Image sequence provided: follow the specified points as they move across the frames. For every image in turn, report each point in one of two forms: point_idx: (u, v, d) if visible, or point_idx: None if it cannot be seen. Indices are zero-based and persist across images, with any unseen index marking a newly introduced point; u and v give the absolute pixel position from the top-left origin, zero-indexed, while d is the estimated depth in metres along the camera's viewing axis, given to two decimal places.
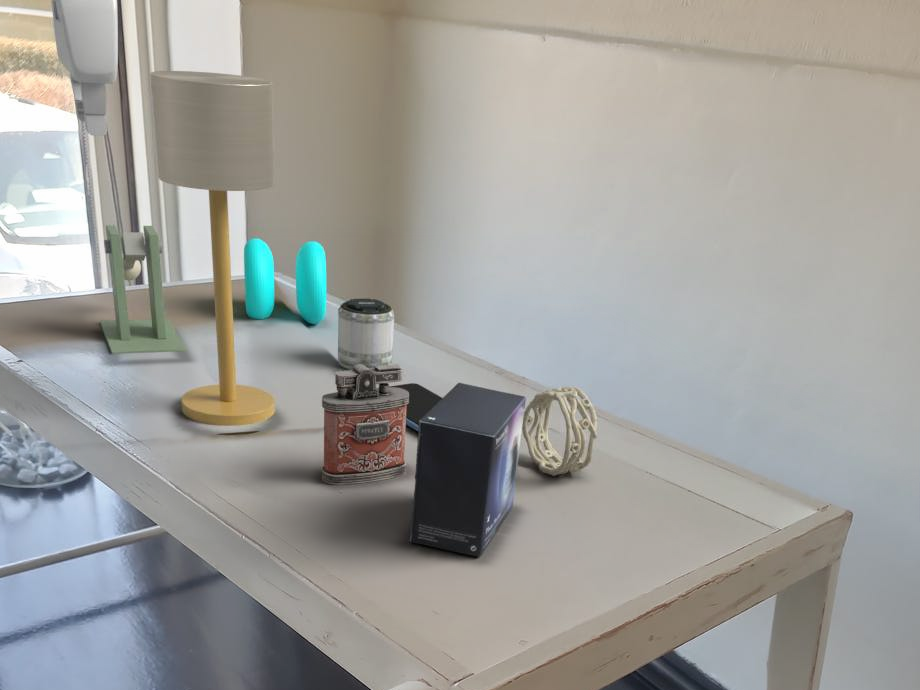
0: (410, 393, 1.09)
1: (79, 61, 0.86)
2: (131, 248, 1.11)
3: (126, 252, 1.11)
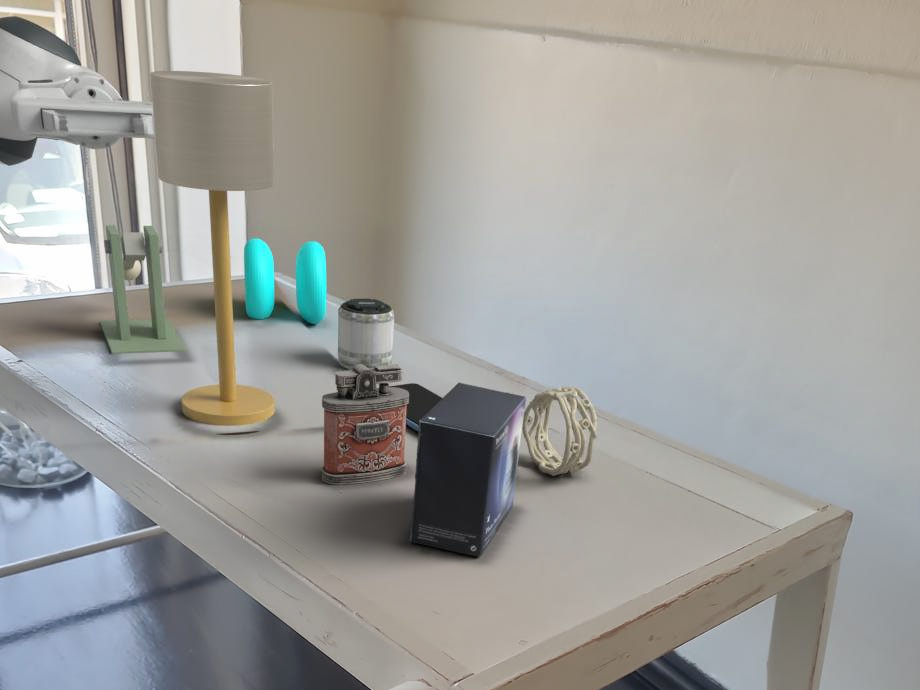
0: (410, 393, 1.09)
1: (13, 126, 1.26)
2: (131, 248, 1.11)
3: (126, 252, 1.11)
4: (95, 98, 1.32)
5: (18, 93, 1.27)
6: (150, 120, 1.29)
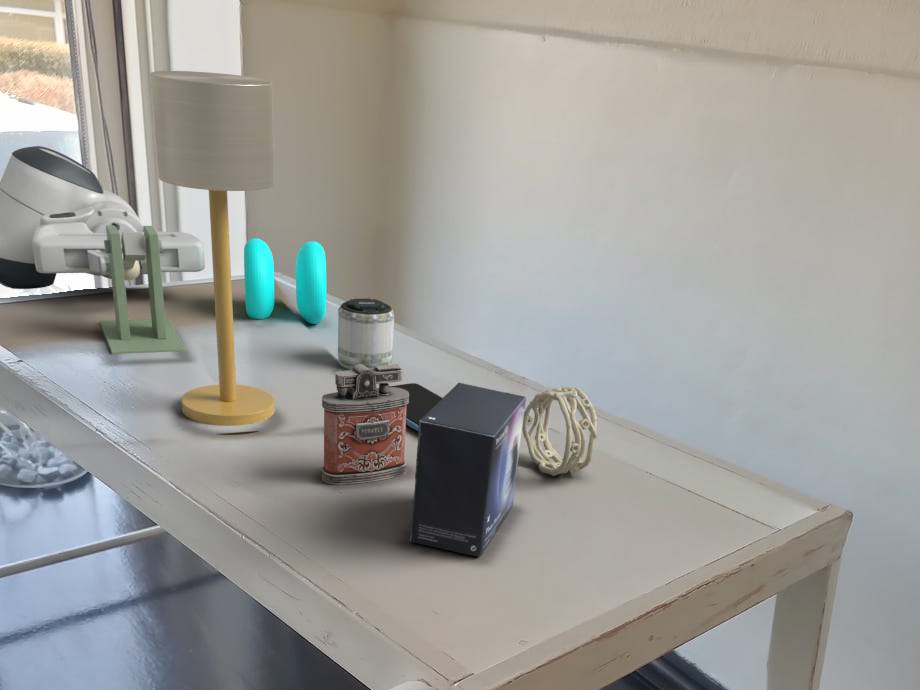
0: (410, 393, 1.09)
1: None
2: (131, 248, 1.11)
3: (126, 252, 1.11)
4: (119, 231, 1.28)
5: (40, 231, 1.23)
6: None
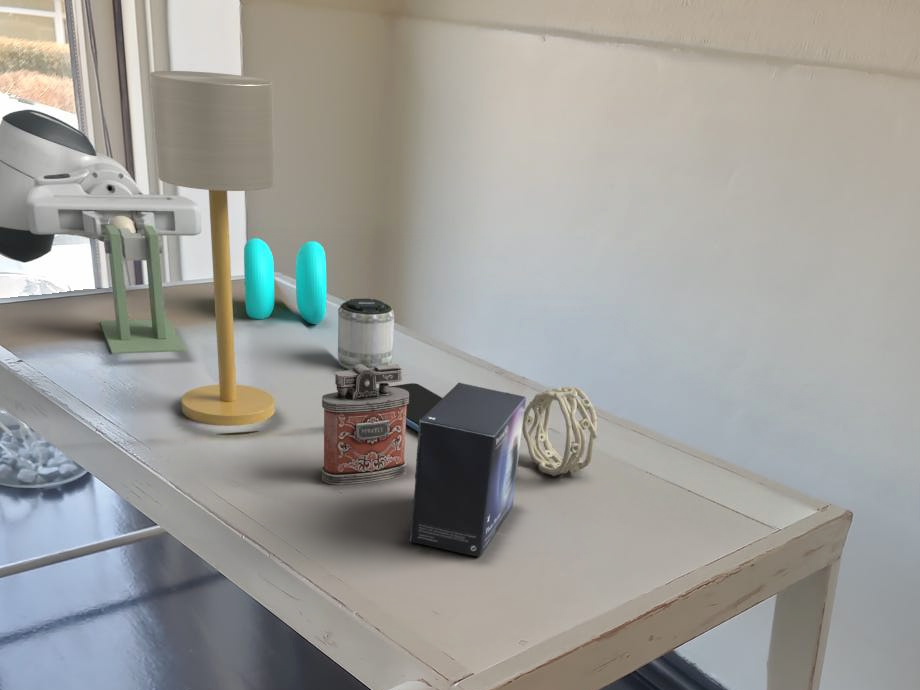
0: (410, 393, 1.09)
1: None
2: (131, 254, 1.11)
3: (126, 258, 1.11)
4: (114, 193, 1.26)
5: (34, 192, 1.21)
6: (152, 218, 1.22)
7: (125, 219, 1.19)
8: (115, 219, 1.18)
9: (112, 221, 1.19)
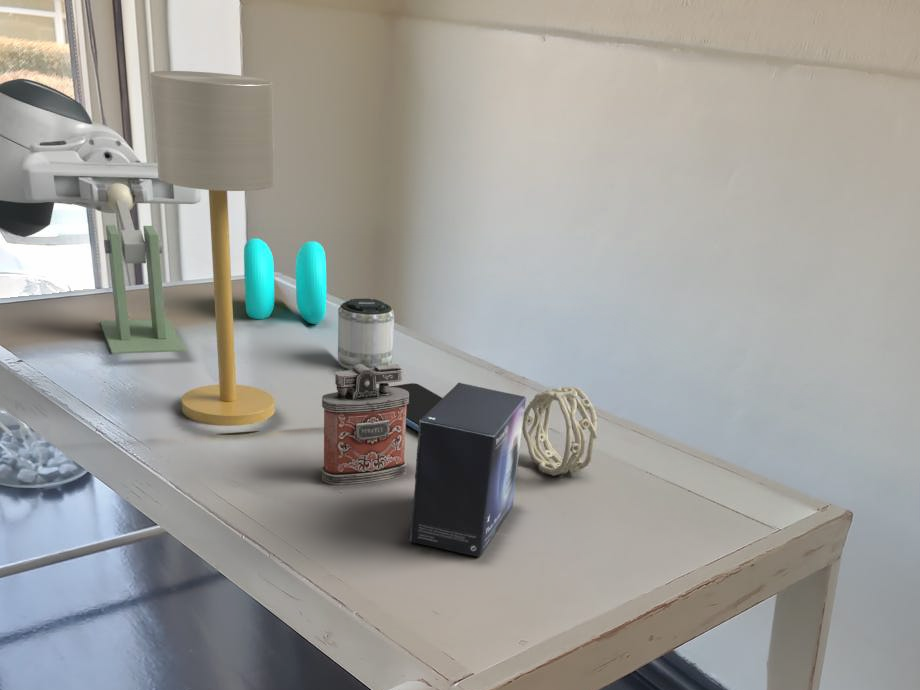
0: (410, 393, 1.09)
1: None
2: (132, 258, 1.12)
3: (126, 261, 1.12)
4: (111, 161, 1.23)
5: (30, 158, 1.18)
6: (150, 185, 1.20)
7: (123, 190, 1.16)
8: (113, 190, 1.16)
9: (110, 191, 1.16)
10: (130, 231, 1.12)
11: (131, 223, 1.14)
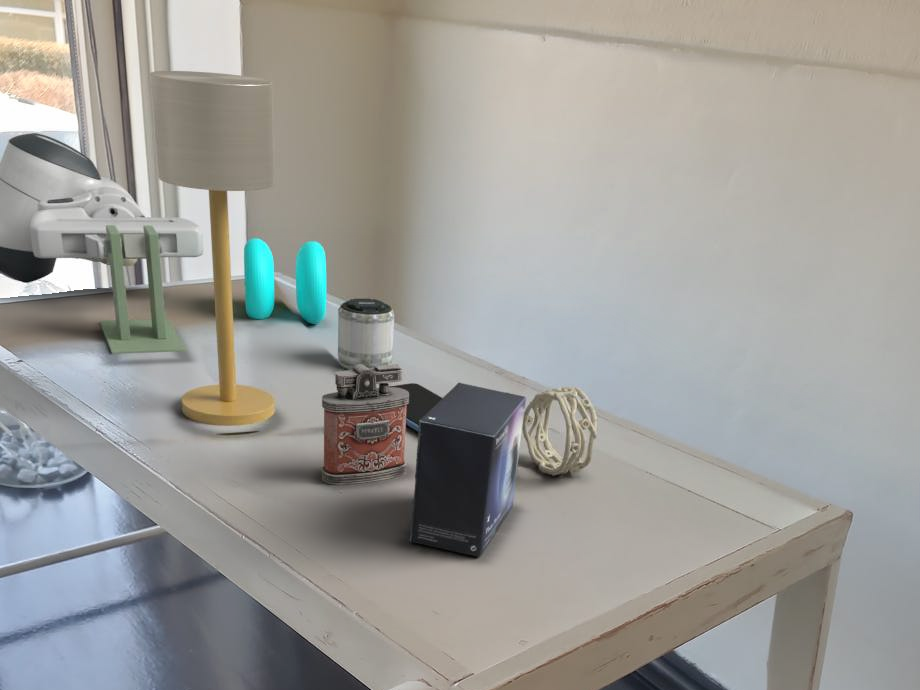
0: (410, 393, 1.09)
1: (33, 251, 1.22)
2: (131, 250, 1.11)
3: (126, 254, 1.11)
4: (117, 217, 1.27)
5: (38, 216, 1.22)
6: None
7: None
8: None
9: None
10: None
11: None
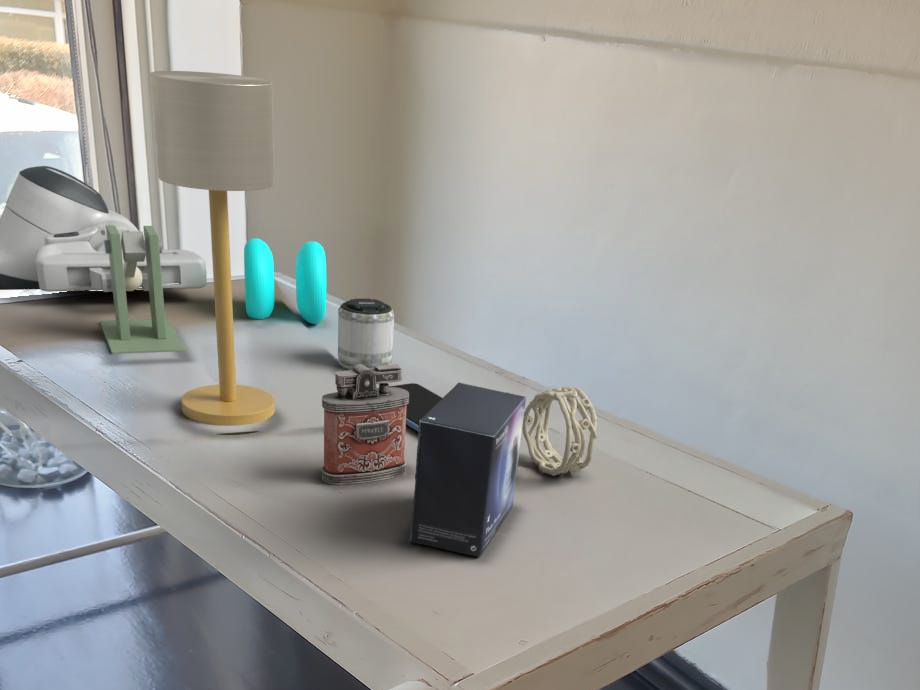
0: (410, 393, 1.09)
1: None
2: (131, 246, 1.11)
3: (126, 250, 1.11)
4: None
5: (44, 251, 1.24)
6: None
7: None
8: None
9: None
10: None
11: None
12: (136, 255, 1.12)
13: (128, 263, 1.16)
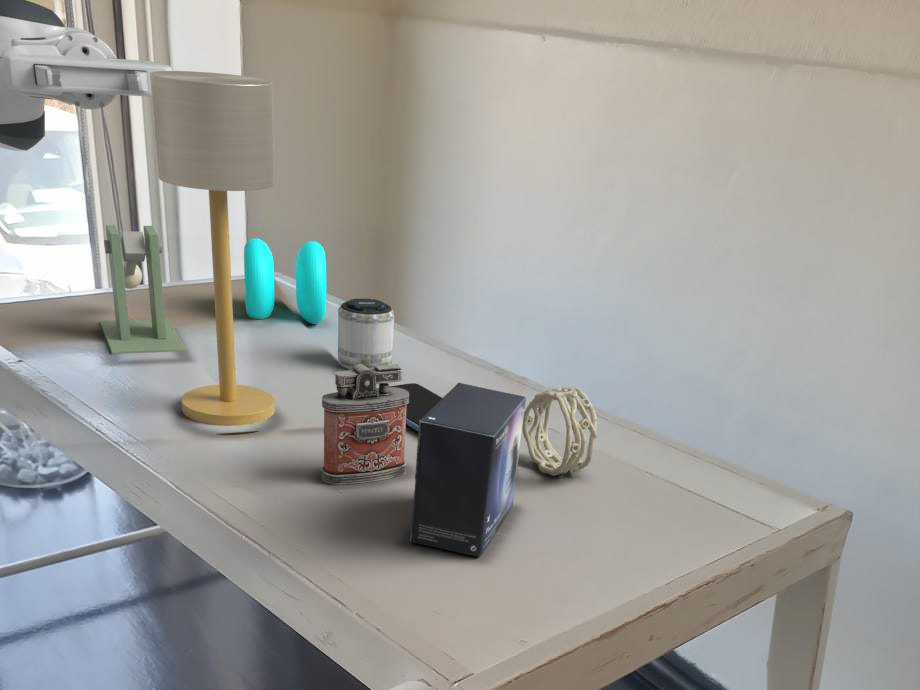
0: (410, 393, 1.09)
1: (6, 82, 1.25)
2: (131, 247, 1.11)
3: (126, 251, 1.11)
4: (89, 56, 1.30)
5: (11, 49, 1.25)
6: (145, 76, 1.27)
7: None
8: None
9: None
10: None
11: None
12: (136, 255, 1.12)
13: (128, 262, 1.16)
